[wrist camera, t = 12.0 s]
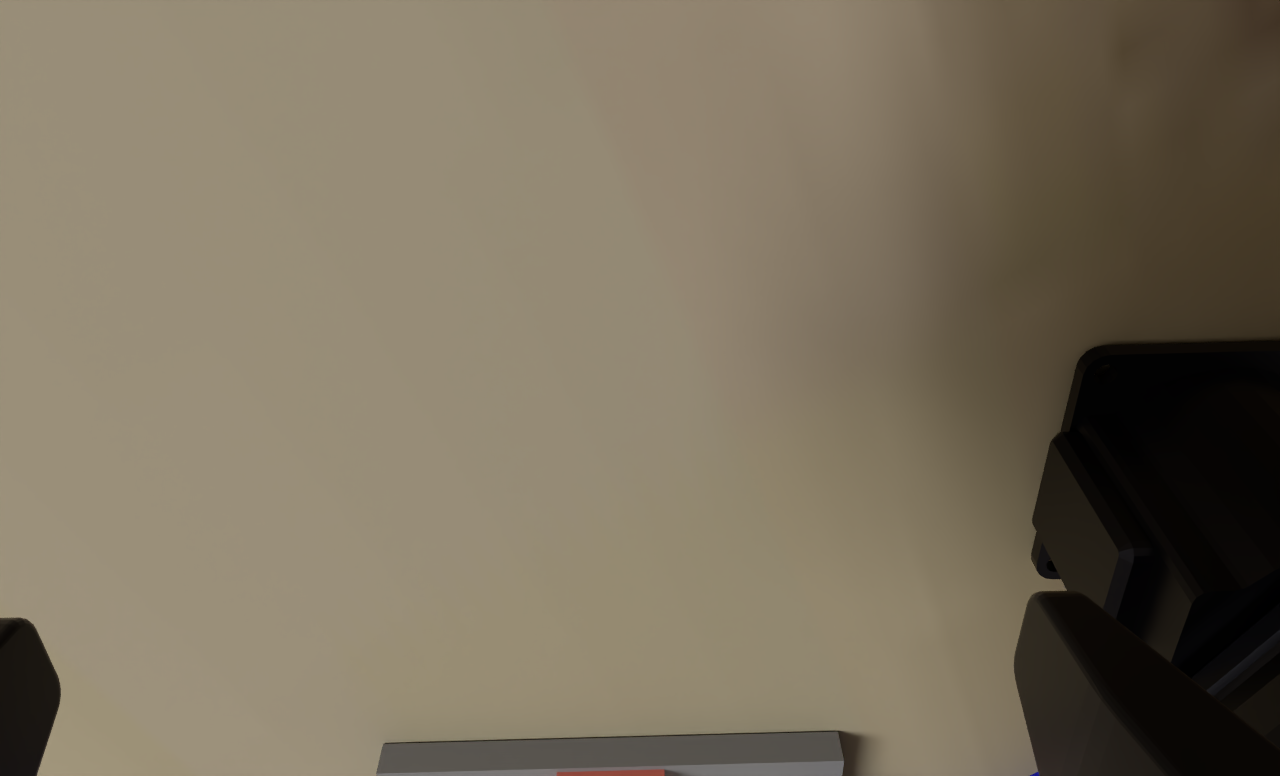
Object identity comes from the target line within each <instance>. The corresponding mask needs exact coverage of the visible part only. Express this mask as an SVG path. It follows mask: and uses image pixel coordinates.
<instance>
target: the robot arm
mask: <svg viewBox="0 0 1280 776" xmlns="http://www.w3.org/2000/svg"><path fill="white" fill-rule="evenodd" d="M1108 364H1109V365H1110V367H1109V369H1108V370H1107V371H1105V372H1104V373H1103V374H1099V375H1094V374H1095V372H1096V371H1097V369H1099V368H1100V367H1102V366H1104V365H1108ZM1032 523H1033V525H1034V527H1035V529H1036V531H1037V532H1036V536H1035V540H1034V544H1033V549H1032V553H1031V560H1032V562H1033V564H1034V566H1035V568H1036V570H1037V571H1038V573H1039V574H1040V575H1041V576H1042V577H1044V578H1048V579H1061V580H1062V581H1063V583H1064V585H1065V587H1066V589H1067V591H1040V592H1037V593H1034V594H1033V595H1032V596H1031V597H1030V599H1029V601H1028V603H1027V607H1026V611H1025V615H1024V619H1023V623H1022V627H1021V631H1020V635H1019V639H1018V643H1017V647H1016V651H1015V657H1014V673H1015V680H1016V685H1017V689H1018V693H1019V697H1020V701H1021V704H1022V708H1023V712H1024V716H1025V720H1026V724H1027V728H1028V732H1029V736H1030V740H1031V744H1032V748H1033V752H1034V756H1035V760H1036V764H1037V768H1038V772H1039V776H1280V341H1261V342H1222V343H1184V344H1145V345H1106V346H1099V347H1094V348H1092V349H1091V350H1089V351H1087V352H1086V353H1085V354H1084V355H1083V356H1082V357H1081V358H1080V359H1079V361H1078V363H1077V365H1076V369H1075V374H1074V378H1073V382H1072V386H1071V390H1070V394H1069V399H1068V403H1067V407H1066V411H1065V415H1064V419H1063V424H1062V428H1061V432H1059V433H1057V435H1056V436H1055V437H1054V438H1053V439H1052V441H1051V442H1050V446H1049V450H1048V454H1047V459H1046V463H1045V467H1044V472H1043V476H1042V480H1041V484H1040V489H1039V493H1038V497H1037V501H1036V506H1035V510H1034V514H1033V518H1032ZM1050 559H1051V560H1052V561H1049V560H1050ZM60 697H61V688H60V682H59V678H58V675H57V673H56V671H55V669H54V667H53V665H52V662H51V660H50V658H49V656H48V654H47V652H46V649H45V647H44V645H43V643H42V641H41V638H40V636H39V634H38V632H37V630H36V628H35V626H34V625H33V624H32V623H31V622H30V621H28V620H27V619H23V618H0V776H37V773H38V770H39V767H40V764H41V761H42V757H43V754H44V751H45V748H46V745H47V742H48V739H49V736H50V733H51V730H52V727H53V724H54V720H55V717H56V714H57V711H58V708H59V704H60Z"/></svg>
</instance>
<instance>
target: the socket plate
mask: <svg viewBox="0 0 1280 776" xmlns="http://www.w3.org/2000/svg"><path fill="white" fill-rule="evenodd" d="M843 766H844V758H843V753H842V749H841V744H840V740H839V735H838V732H804V733H767V734H730V735H693V736H656V737H619V738H582V739H546V740H509V741H472V742H435V743H398V744H383V747H382V751H381V755H380V760H379V764H378V768H377V773H376V774H377V776H842V773H843Z"/></svg>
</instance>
